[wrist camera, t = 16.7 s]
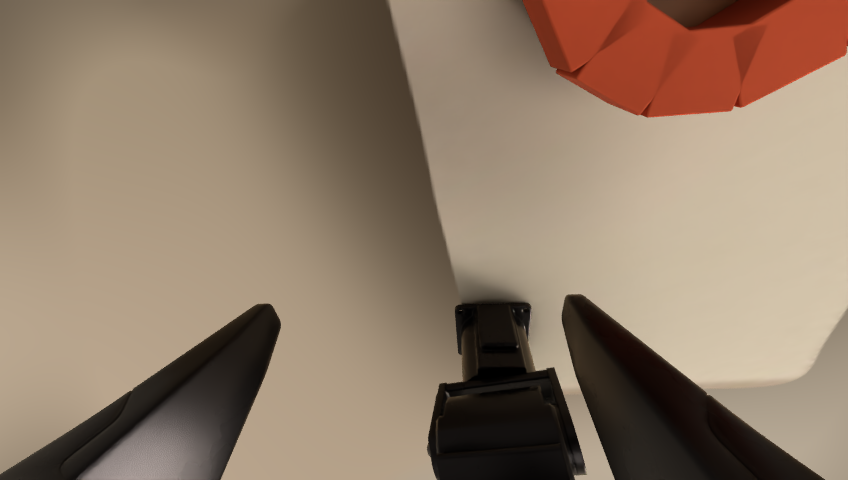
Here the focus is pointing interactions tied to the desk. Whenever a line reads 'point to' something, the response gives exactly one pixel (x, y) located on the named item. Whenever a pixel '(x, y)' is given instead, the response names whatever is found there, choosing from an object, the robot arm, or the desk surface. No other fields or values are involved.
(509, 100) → the desk surface
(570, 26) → the orange faceted ring
